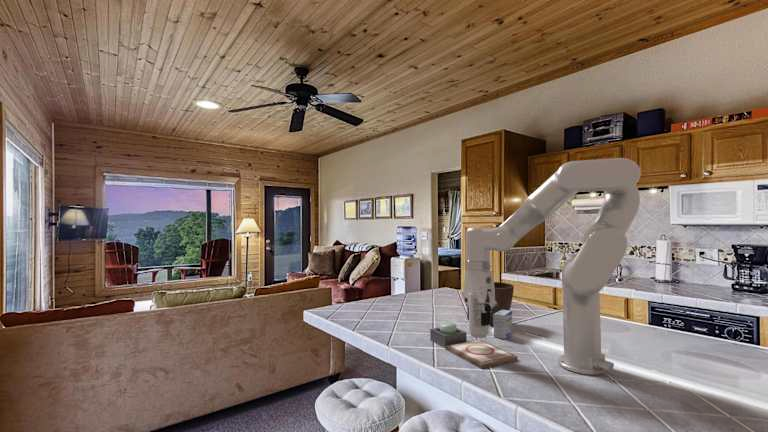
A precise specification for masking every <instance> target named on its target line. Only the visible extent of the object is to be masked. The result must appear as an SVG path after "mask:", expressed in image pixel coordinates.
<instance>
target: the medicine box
mask: <svg viewBox="0 0 768 432" xmlns="http://www.w3.org/2000/svg"><path fill="white" fill-rule="evenodd" d="M493 322H494V326H493V337H494V338H496V339H502V340H507V339H508V338H509V337H510V336H511V335H512V334H513V333H512V332H513V311H512V310H510V311H509V310H500V311H498V312H496V313H495V314H493ZM511 333H512V334H511Z"/></svg>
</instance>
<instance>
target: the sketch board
mask: <svg viewBox="0 0 768 432" xmlns="http://www.w3.org/2000/svg"><path fill="white" fill-rule="evenodd" d="M445 350H446V351H448V352H450V353H452V354H454V355H455V356H457V357H459V358H460V359H462V360H465V362H468V363H470V364H472V365H473V366H475V367H478V369H485V368H490V367H494V366H498V365H503V364H508V363H511V362H517V361H518V356H517V355H516V354H514V353H511V352H509V351H506V350H504V349H502V348H500V347H497V346H495V345H494V344H493V345H492V344H491V343H488V342H486V341H484V340H482V339H481V338H476V339H472V340H467V341H466V342H461V343H456V344H451V345H446V346H445Z"/></svg>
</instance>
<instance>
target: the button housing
mask: <svg viewBox="0 0 768 432" xmlns="http://www.w3.org/2000/svg"><path fill="white" fill-rule="evenodd" d="M429 334H430V335H429V336H430V338H429V339H430V341H432V342H433V343H435V344H436V345H438V346H441V347H443V348H445V346H446V345H451V344H456V343H461V342H466V341H468V340H467V331H464V330H462V329H461V328H460V329H459V328H457V327H456V333H451V334H443V333H441V332H440V326H439V327H434V328H430V332H429Z"/></svg>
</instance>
